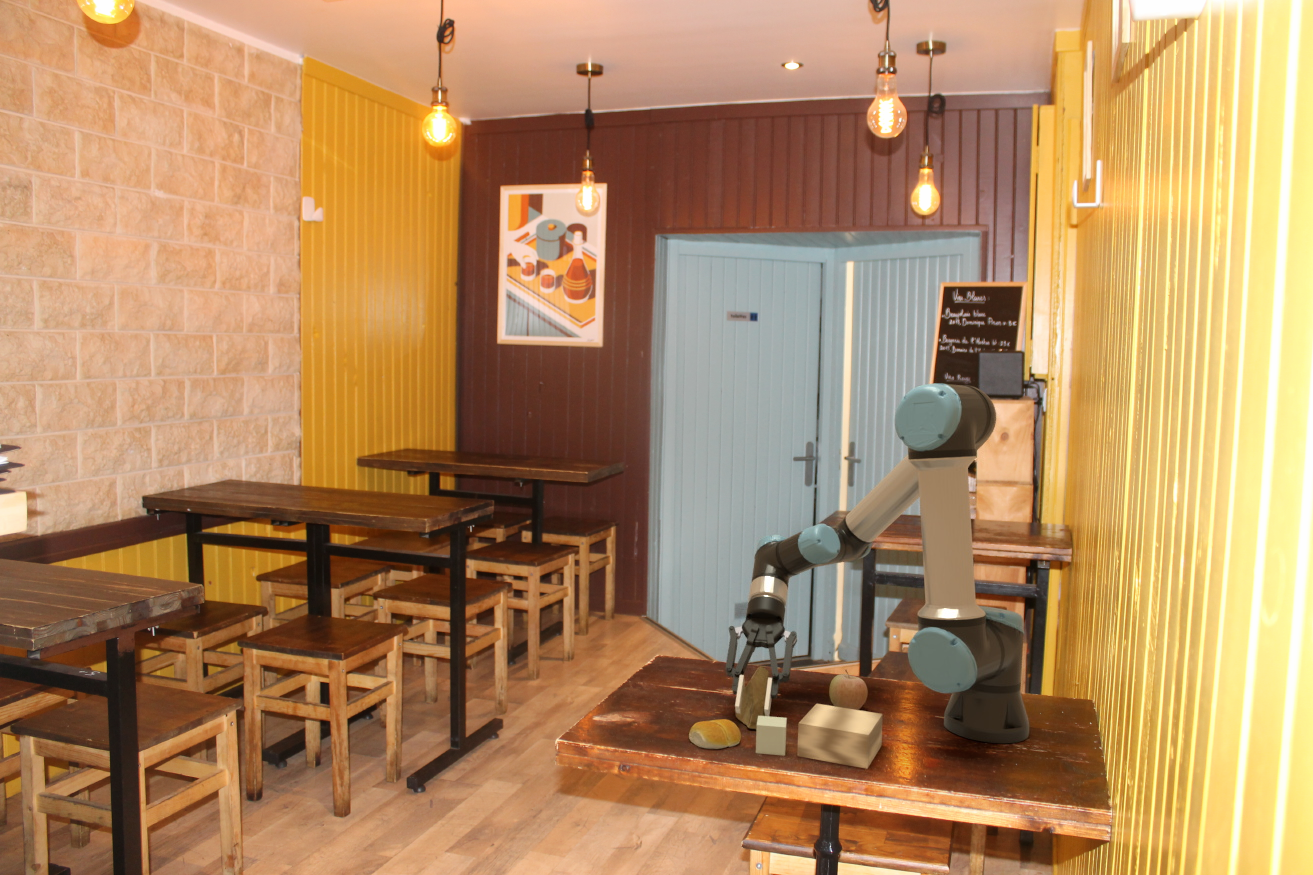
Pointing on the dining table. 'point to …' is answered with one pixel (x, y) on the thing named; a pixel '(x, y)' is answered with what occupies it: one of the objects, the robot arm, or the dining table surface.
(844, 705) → the fruit
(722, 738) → the bread roll
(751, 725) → the rock
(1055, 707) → the dining table surface
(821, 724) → the beech block
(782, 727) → the pale cream cube
